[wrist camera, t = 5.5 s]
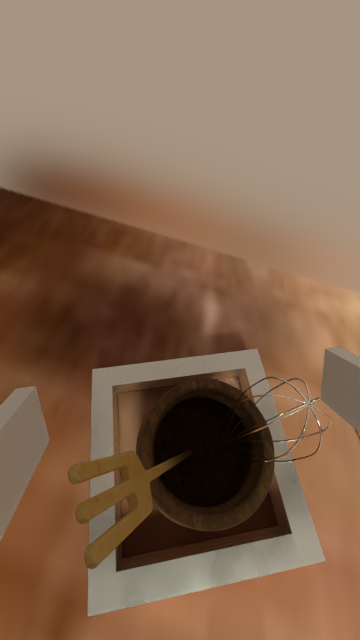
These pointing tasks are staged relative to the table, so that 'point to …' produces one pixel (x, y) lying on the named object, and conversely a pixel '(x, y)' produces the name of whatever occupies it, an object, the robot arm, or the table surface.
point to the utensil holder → (191, 463)
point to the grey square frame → (208, 556)
